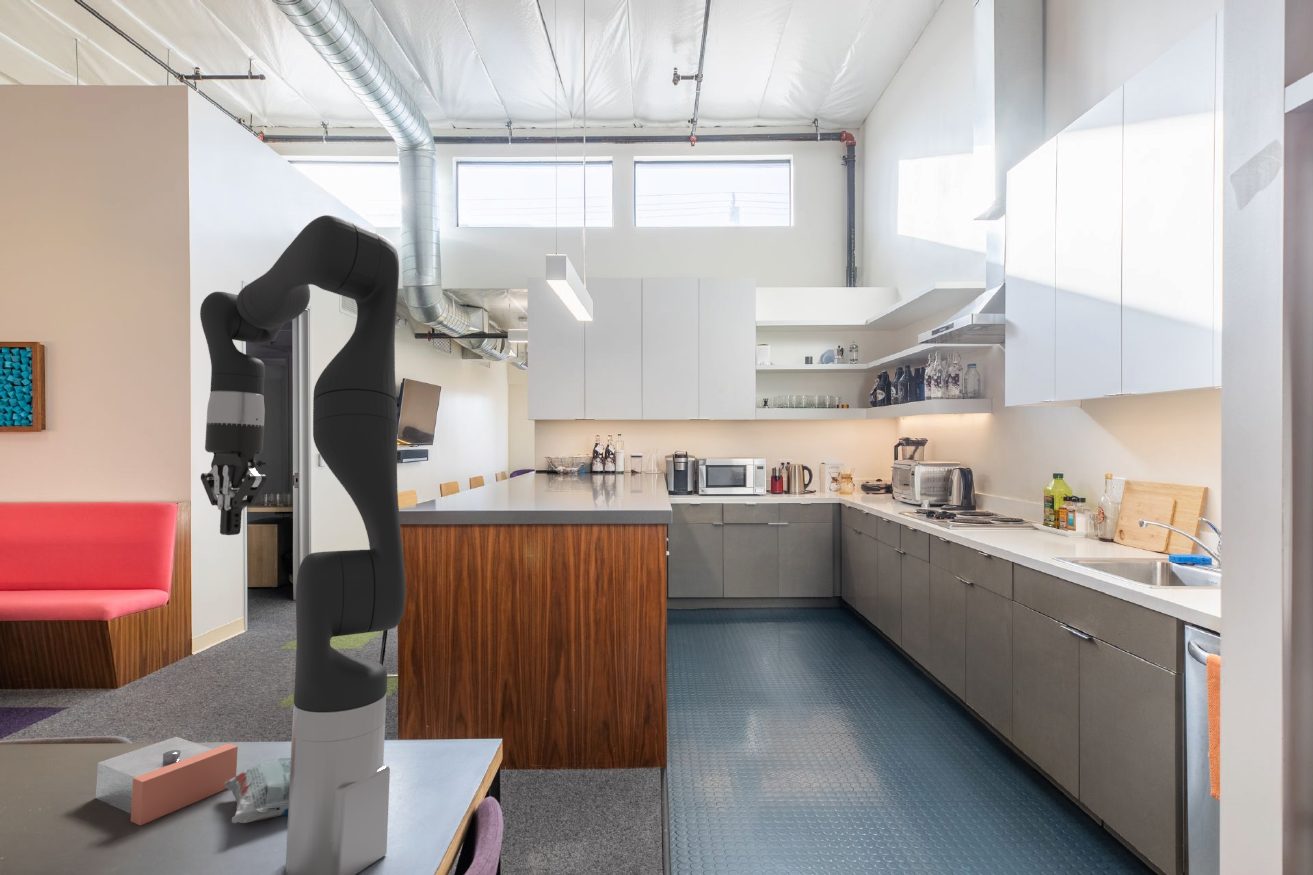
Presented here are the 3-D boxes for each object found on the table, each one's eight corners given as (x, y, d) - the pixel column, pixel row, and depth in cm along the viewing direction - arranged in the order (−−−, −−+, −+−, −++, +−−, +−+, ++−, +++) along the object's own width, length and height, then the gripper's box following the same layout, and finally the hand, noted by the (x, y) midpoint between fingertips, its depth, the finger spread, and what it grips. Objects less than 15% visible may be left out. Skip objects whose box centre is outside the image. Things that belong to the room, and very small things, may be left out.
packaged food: (230, 842, 72) (233, 797, 73) (223, 798, 82) (226, 758, 82) (316, 819, 78) (318, 777, 78) (300, 780, 87) (303, 743, 87)
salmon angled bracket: (235, 784, 85) (237, 746, 85) (139, 825, 75) (142, 781, 75) (181, 764, 90) (183, 728, 90) (85, 800, 80) (87, 759, 81)
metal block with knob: (217, 785, 85) (220, 743, 85) (139, 818, 77) (142, 771, 77) (174, 769, 89) (176, 729, 89) (95, 798, 81) (98, 754, 81)
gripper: (286, 424, 100) (281, 535, 99) (233, 425, 106) (227, 530, 105) (238, 420, 93) (232, 539, 92) (184, 421, 99) (177, 534, 98)
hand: (229, 534), depth 99 cm, fingers closed
